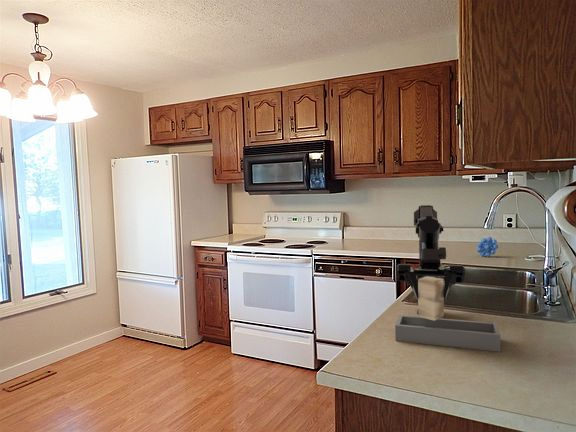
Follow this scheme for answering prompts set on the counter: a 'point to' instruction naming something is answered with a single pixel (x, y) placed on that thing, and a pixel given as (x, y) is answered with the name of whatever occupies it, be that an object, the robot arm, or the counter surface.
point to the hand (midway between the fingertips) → (430, 298)
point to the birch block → (431, 297)
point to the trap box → (448, 332)
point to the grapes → (487, 246)
